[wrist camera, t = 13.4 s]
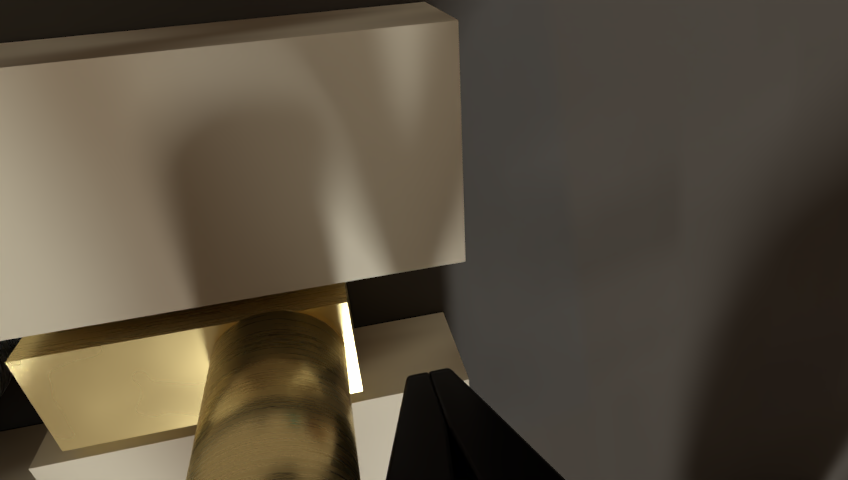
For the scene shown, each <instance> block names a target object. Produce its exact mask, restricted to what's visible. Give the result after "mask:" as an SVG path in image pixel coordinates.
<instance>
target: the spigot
mask: <svg viewBox="0 0 848 480" xmlns="http://www.w3.org/2000/svg"><path fill="white" fill-rule="evenodd" d="M13 350H14V346H13V343H12V341H11V339H9V340H3V341H0V398H1V396H2V394H3V393H4V391H5V390H6V388H7V387H8V385H9V383H10V382H11V380H12V378H13V374H12V373H11V371H10V370H9V368H8V366H7V365H6V363H5V362H6V360H7V359H8V357H9V356H10V355H11V353H12V352H13Z"/></svg>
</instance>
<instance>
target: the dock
mask: <svg viewBox="0 0 848 480" xmlns="http://www.w3.org/2000/svg"><path fill="white" fill-rule="evenodd" d="M460 262H465V229H464V195H463V161H462V127H461V93H460V59H459V25H458V20H457V19H455V18H453V17H452V16H450V15H448V14H446V13H444V12H443V11H441V10H439V9H437V8H435V7H434V6H432V5H430V4H428V3H426V2H417V3H406V4H396V5H386V6H376V7H366V8H355V9H345V10H335V11H325V12H315V13H304V14H294V15H284V16H274V17H263V18H253V19H243V20H233V21H223V22H212V23H202V24H192V25H182V26H172V27H161V28H151V29H141V30H131V31H120V32H110V33H100V34H90V35H80V36H69V37H59V38H49V39H39V40H29V41H18V42H8V43H0V341H3V340H9V339H15V338H21V337H26V336H32V335H38V334H44V333H50V332H56V331H62V330H67V329H73V328H79V327H85V326H91V325H97V324H103V323H108V322H114V321H120V320H126V319H132V318H138V317H144V316H149V315H155V314H161V313H167V312H173V311H179V310H184V309H190V308H196V307H202V306H208V305H214V304H220V303H225V302H231V301H237V300H243V299H249V298H255V297H261V296H266V295H272V294H278V293H284V292H290V291H296V290H302V289H307V288H313V287H319V286H325V285H331V284H337V283H343V282H348V281H354V280H360V279H366V278H372V277H378V276H384V275H389V274H395V273H401V272H407V271H413V270H419V269H425V268H430V267H436V266H442V265H448V264H454V263H460ZM354 332H355V339H356V346H357V353H358V360H359V367H360V374H361V381H362V388H363V391H361V392H356V393H351V402H352V411H353V420H354V428H355V437H356V446H357V455H358V463H359V472H360V480H386V476H387V471H388V466H389V461H390V456H391V451H392V446H393V441H394V437H395V432H396V427H397V422H398V417H399V412H400V407H401V402H402V397H403V393H404V388H405V383H406V379H407V377H408V376H409V375H414V374H419V373H424V372H427V373H429V372H430V371H434V370H439V369H444V368H449V369H451V370H453V371H454V372H455V373H456V374H457V375H458V376H459V377H460V378H461V379H462V380H463V381H464V382H465V383H466V384H467V385H468V386H469V378H468V376H467V373H466V370H465V368H464V365H463V363H462V360H461V357H460V355H459V352H458V350H457V347H456V344H455V342H454V339H453V336H452V334H451V331H450V329H449V326H448V323H447V321H446V318H445V316H444V313H443V312H441V313H435V314H430V315H424V316H419V317H413V318H408V319H403V320H397V321H392V322H386V323H381V324H375V325H370V326H364V327H359V328H354ZM196 428H197V425H192V426H187V427H182V428H177V429H172V430H167V431H162V432H157V433H152V434H147V435H142V436H137V437H132V438H127V439H122V440H117V441H112V442H107V443H102V444H97V445H92V446H87V447H82V448H77V449H72V450H67V451H62V450H61V449H60V447H59V445H58V444H57V442H56V441H55V439H54V438H53V436H52V435H51V433H50V432H49V430H48V428H47V427H46V425H45V424H44V423H43V424H38V425H33V426H28V427H22V428H17V429H12V430H7V431H2V432H0V480H186V477H187V472H188V467H189V462H190V457H191V452H192V447H193V442H194V437H195V432H196Z"/></svg>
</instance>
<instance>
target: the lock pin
mask: <svg viewBox="0 0 848 480" xmlns="http://www.w3.org/2000/svg"><path fill="white" fill-rule="evenodd" d="M5 363H6V365H7V366H8V368H9V370H10V371H11V373H12V374H13V376H14V377H15V379H16V380H17V382H18V383H19V385H20V387H21V388H22V390H23V391H24V393H25V394H26V396H27V397H28V399H29V401H30V402H31V404H32V405H33V407H34V408H35V410H36V411H37V413H38V414H39V416H40V418H41V419H42V421H43V422H44V424H45V425H46V427H47V428H48V430H49V432H50V433H51V435H52V436H53V438H54V439H55V441H56V442H57V444H58V445H59V447H60V449H61V450H62V451H67V450H72V449H77V448H82V447H87V446H92V445H97V444H102V443H107V442H112V441H117V440H122V439H127V438H132V437H137V436H142V435H147V434H152V433H157V432H162V431H167V430H172V429H177V428H182V427H187V426H192V425H197V428H196V432H195V437H194V442H193V447H192V452H191V457H190V462H189V467H188V472H187V477H186V480H360V472H359V463H358V455H357V446H356V437H355V428H354V420H353V411H352V402H351V393H356V392H361V391H363V388H362V381H361V374H360V367H359V360H358V353H357V346H356V339H355V332H354V325H353V318H352V312H351V306H350V301H349V295H348V289H347V283H346V282H343V283H337V284H331V285H325V286H319V287H313V288H307V289H302V290H296V291H290V292H284V293H278V294H272V295H266V296H261V297H255V298H249V299H243V300H237V301H231V302H225V303H220V304H214V305H208V306H202V307H196V308H190V309H184V310H179V311H173V312H167V313H161V314H155V315H149V316H144V317H138V318H132V319H126V320H120V321H114V322H108V323H103V324H97V325H91V326H85V327H79V328H73V329H67V330H62V331H56V332H50V333H44V334H38V335H32V336H26V337H22V338H21V340H20V341H19V343H18V344H17V346H16V347H15V349H14V350H13V352H12V353H11V355H10V356H9V357H8V359H7V360H6V362H5Z"/></svg>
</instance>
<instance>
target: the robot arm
mask: <svg viewBox="0 0 848 480" xmlns="http://www.w3.org/2000/svg"><path fill="white" fill-rule="evenodd" d="M386 480H565V479H564V478H563V477H562V476H561V475H560V474H559V473H558V472H557V471H556V470H555V469H554V468H553V467H552V466H551V465H550V464H549V463H547V462H546V461H545V460H544V459H543V458H542V457H541V456H540V455H539V454H538V453H537V452H536V451H535V450H534V449H533V448H532V447H531V446H530V445H529V444H528V443H527V442H526V441H525V440H524V439H523V438H522V437H521V436H520V435H519V434H518V433H517V432H516V431H514V430H513V429H512V428H511V427H510V426H509V425H508V424H507V423H506V422H505V421H504V420H503V419H502V418H501V417H500V416H499V415H498V414H497V413H496V412H495V411H494V410H493V409H492V408H491V407H490V406H489V405H488V404H487V403H486V402H485V401H484V400H483V399H481V398H480V397H479V396H478V395H477V394H476V393H475V392H474V391H473V390H472V389H471V388H470V387H469V386H468V385H467V384H466V383H465V382H464V381H463V380H462V379H461V378H460V377H459V376H458V375H457V374H456V373H455V372H454V371H453V370H451V369H449V368H444V369H439V370H434V371H430V372H429V373H427V372H424V373H419V374H414V375H409V376H408V377H407V379H406V383H405V388H404V393H403V397H402V402H401V407H400V412H399V417H398V422H397V427H396V432H395V437H394V441H393V446H392V451H391V456H390V461H389V466H388V471H387V476H386Z"/></svg>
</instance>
